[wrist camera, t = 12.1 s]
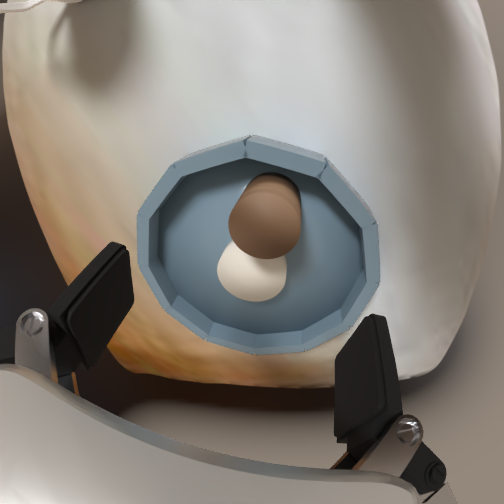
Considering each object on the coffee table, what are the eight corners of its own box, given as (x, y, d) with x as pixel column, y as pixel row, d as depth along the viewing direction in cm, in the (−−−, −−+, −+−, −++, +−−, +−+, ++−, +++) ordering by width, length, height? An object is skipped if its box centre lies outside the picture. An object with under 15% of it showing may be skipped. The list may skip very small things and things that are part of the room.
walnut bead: (271, 160, 19) (262, 178, 15) (313, 201, 20) (315, 231, 16) (232, 198, 21) (214, 226, 17) (272, 235, 23) (264, 270, 18)
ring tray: (250, 84, 17) (242, 81, 15) (411, 266, 23) (420, 284, 20) (120, 248, 27) (107, 262, 25) (259, 356, 33) (255, 374, 30)
